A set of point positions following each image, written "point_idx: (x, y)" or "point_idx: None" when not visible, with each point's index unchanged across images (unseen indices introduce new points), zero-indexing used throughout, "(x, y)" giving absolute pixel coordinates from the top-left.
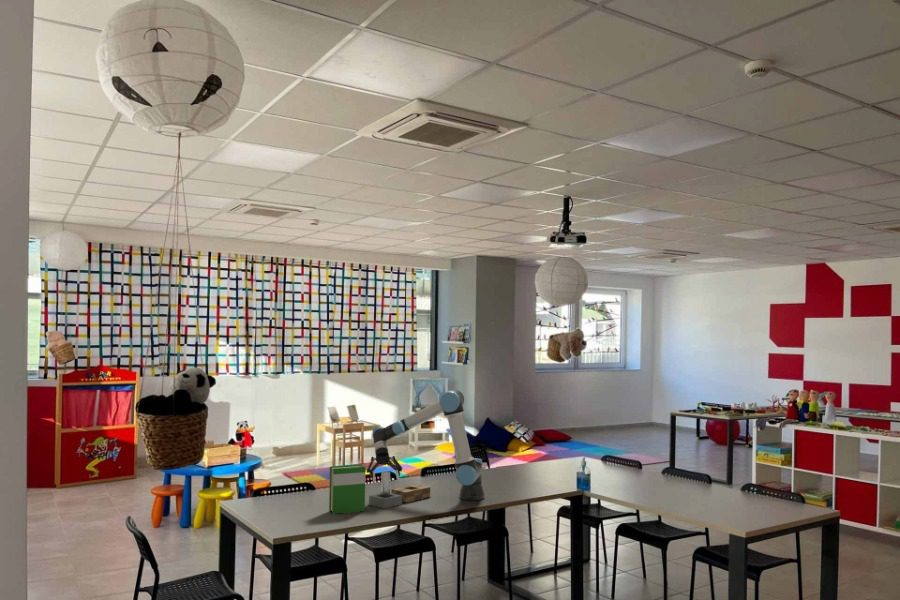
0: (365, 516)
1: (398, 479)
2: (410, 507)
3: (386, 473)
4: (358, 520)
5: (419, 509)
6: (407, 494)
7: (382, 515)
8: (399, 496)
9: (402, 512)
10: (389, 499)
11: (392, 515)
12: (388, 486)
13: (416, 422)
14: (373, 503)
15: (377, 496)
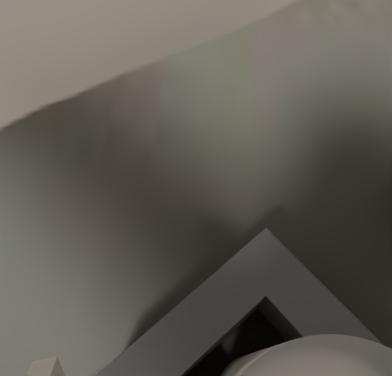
0: (361, 75)
1: (47, 362)
2: (57, 277)
3: (312, 335)
4: (383, 13)
5: (11, 214)
6: None
7: (262, 91)
8: (112, 363)
9: (137, 147)
10: (220, 270)
11: (203, 89)
12: (236, 363)
13: None
14: None
15: None
